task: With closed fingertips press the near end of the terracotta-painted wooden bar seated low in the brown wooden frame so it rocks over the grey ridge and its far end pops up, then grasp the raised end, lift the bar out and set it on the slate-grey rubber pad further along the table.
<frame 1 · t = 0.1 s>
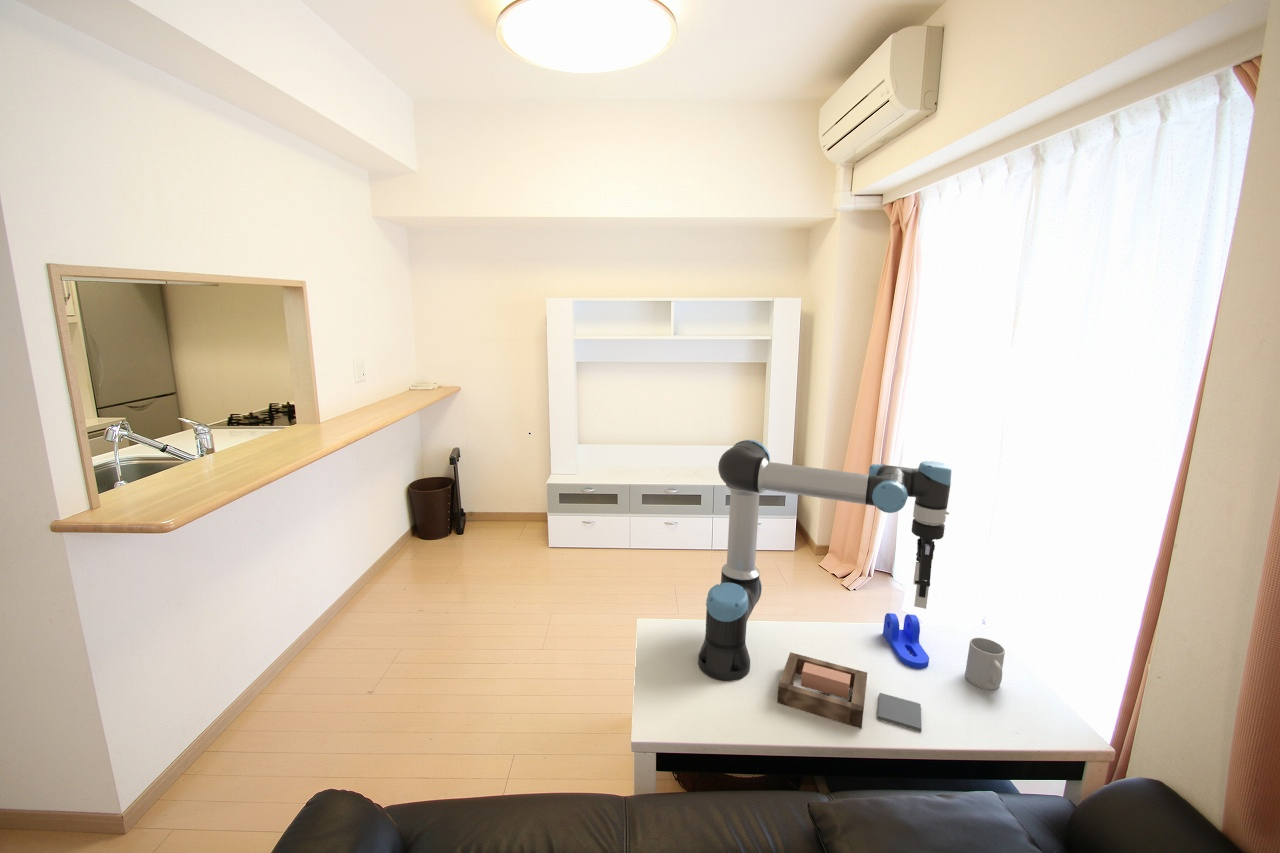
hand: (919, 595, 148), 28 cm above the table, fingers open, 13 cm apart
mug: (985, 685, 155), on the table
bracket: (906, 651, 171), on the table
brown wooden frame: (824, 696, 149), on the table
rubber pad: (899, 713, 143), on the table
terracotta block: (825, 687, 148), point 3 cm above the table, touching brown wooden frame
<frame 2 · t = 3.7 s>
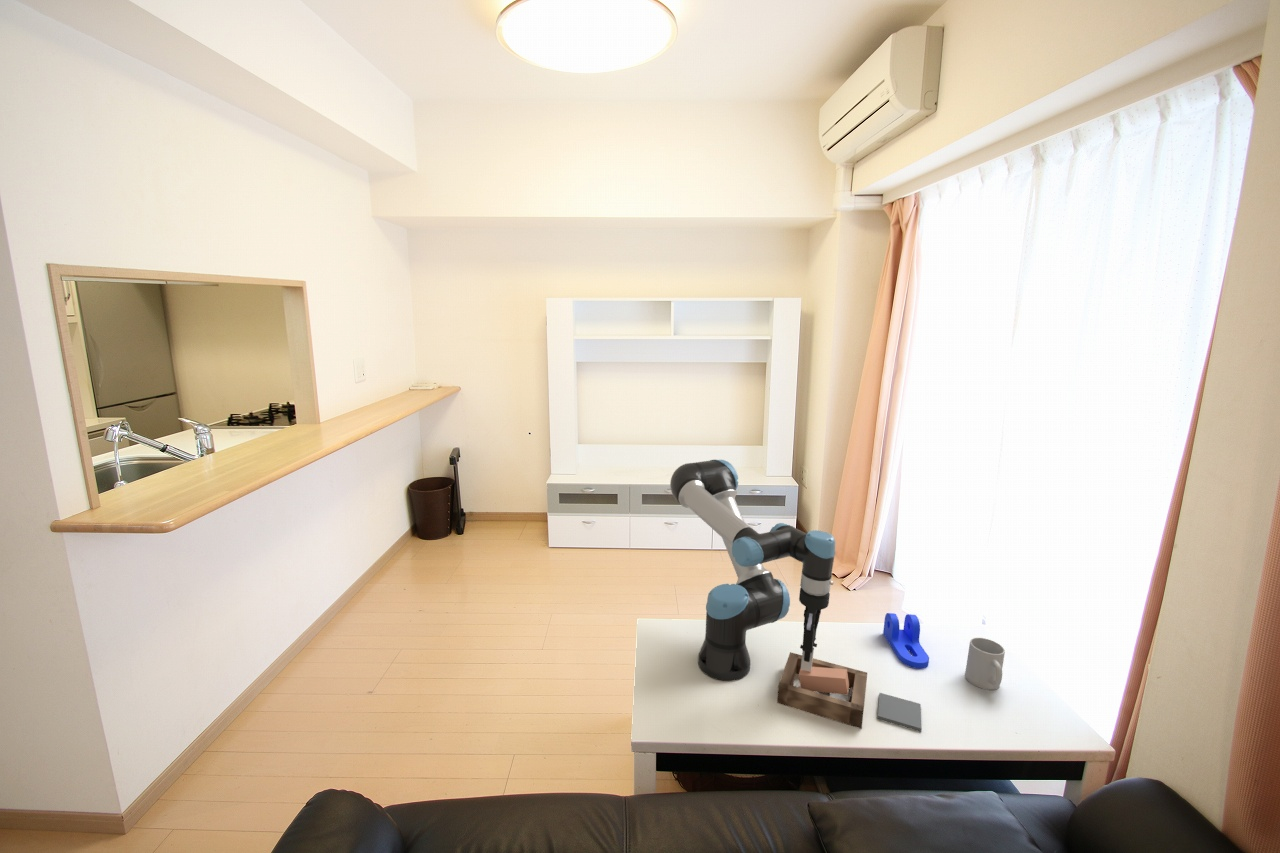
hand: (806, 669, 150), 7 cm above the table, fingers closed
terracotta block: (825, 687, 148), point 3 cm above the table, tilted 12°, touching gripper, brown wooden frame
everything else where it was.
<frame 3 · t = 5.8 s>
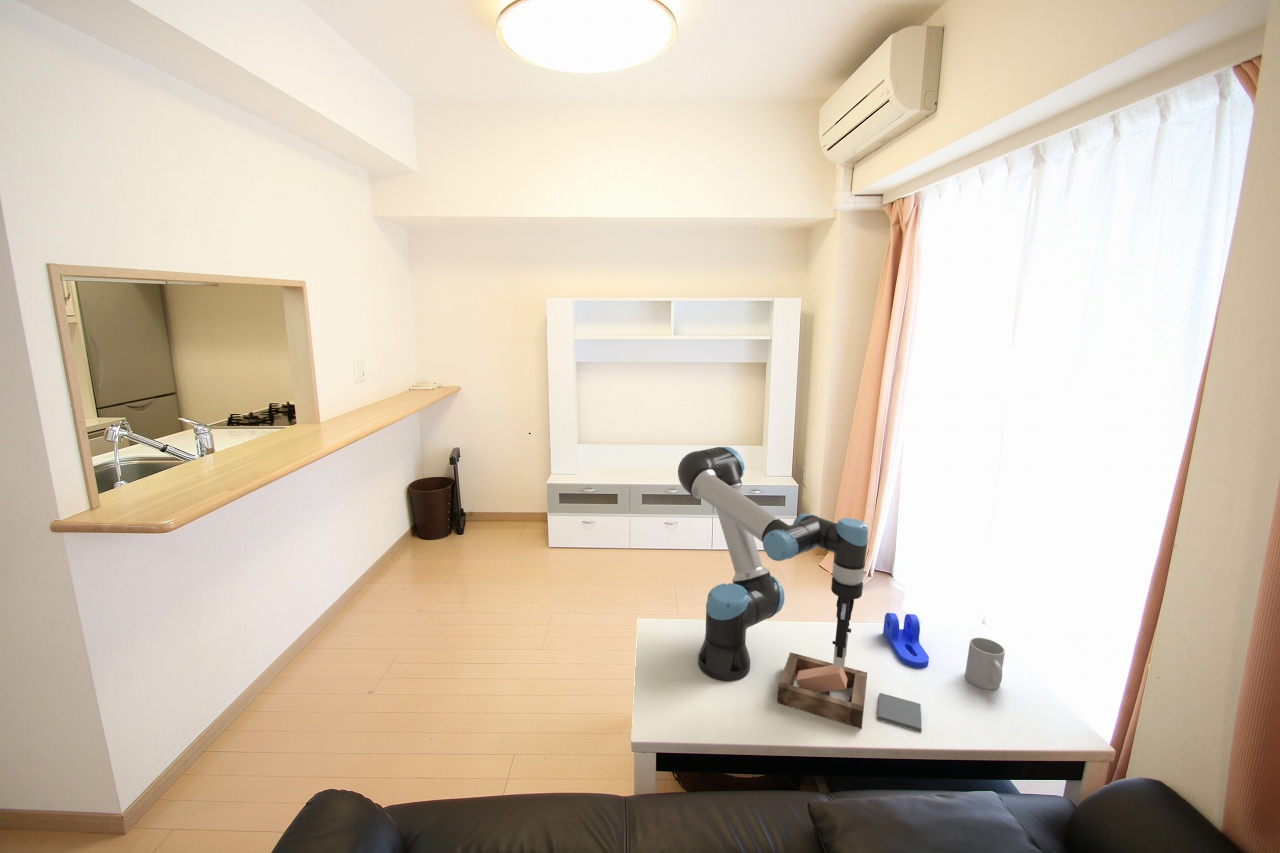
hand: (839, 660, 145), 12 cm above the table, fingers open, 5 cm apart
terracotta block: (825, 687, 148), point 3 cm above the table, tilted 27°, touching brown wooden frame
everything else where it was.
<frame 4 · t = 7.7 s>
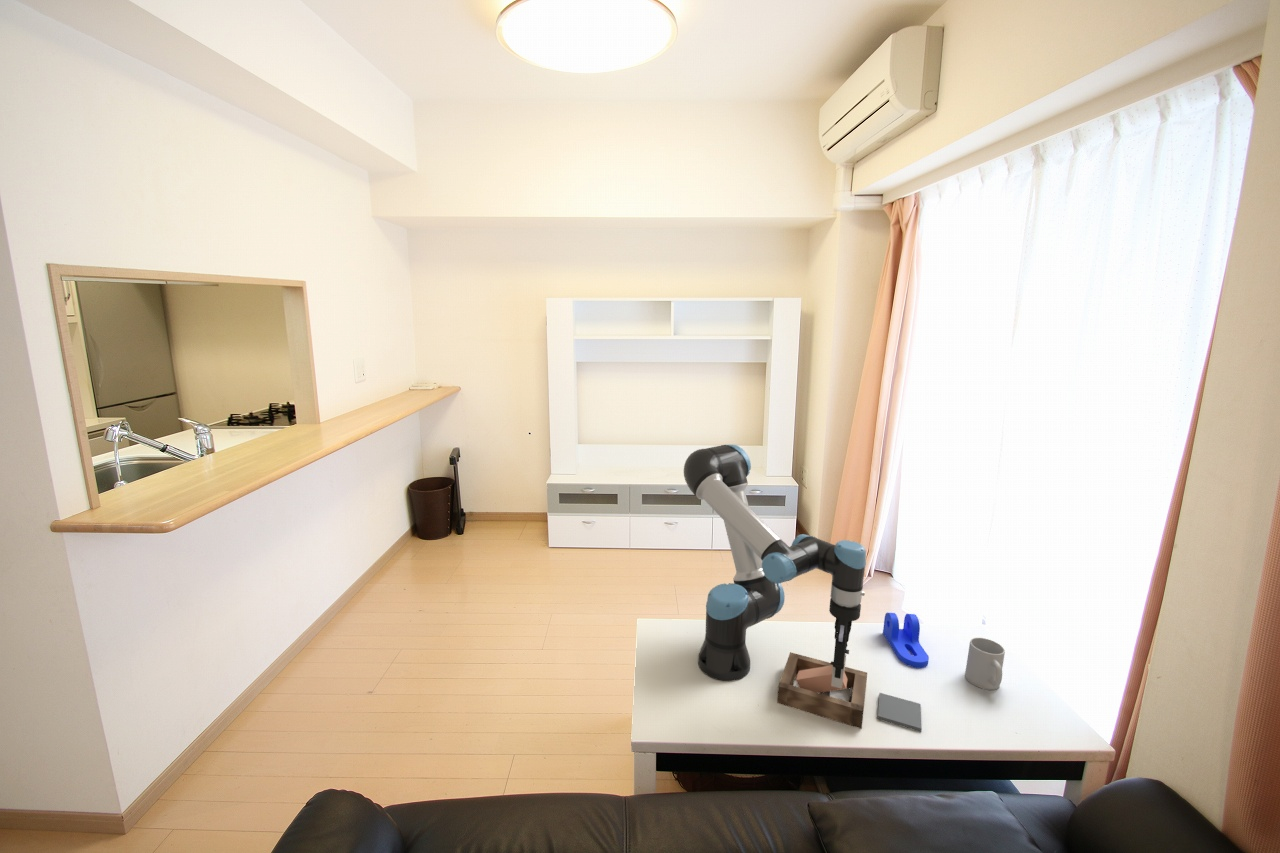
hand: (837, 680, 147), 6 cm above the table, fingers closed on terracotta block, 4 cm apart
terracotta block: (825, 687, 148), point 3 cm above the table, tilted 27°, touching gripper, brown wooden frame
everything else where it was.
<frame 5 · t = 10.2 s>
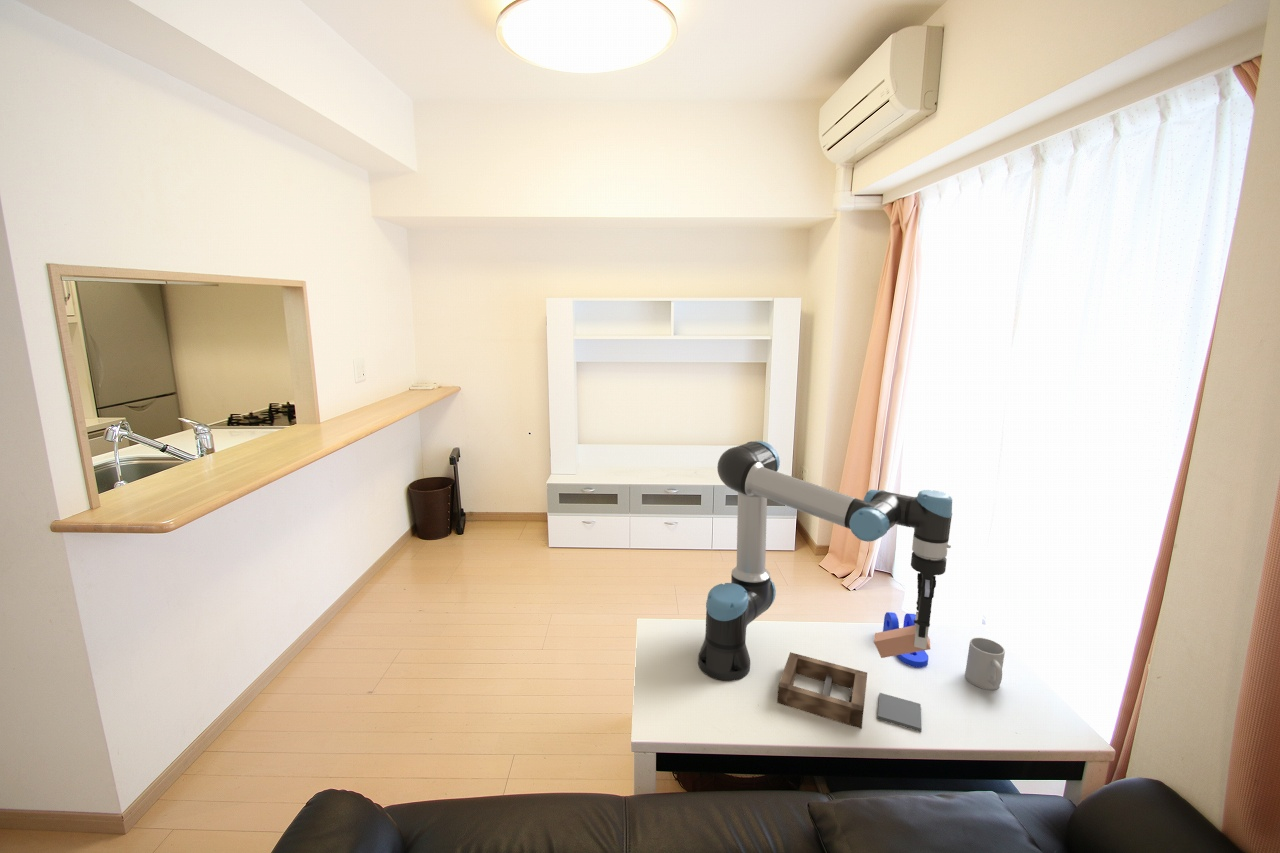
hand: (919, 641, 137), 22 cm above the table, fingers closed on terracotta block, 4 cm apart
terracotta block: (905, 649, 139), point 19 cm above the table, tilted 28°, touching gripper
everything else where it was.
when the fingers open (8 cm above the table, at t = 12.6 s): terracotta block drops 4 cm, resting on rubber pad.
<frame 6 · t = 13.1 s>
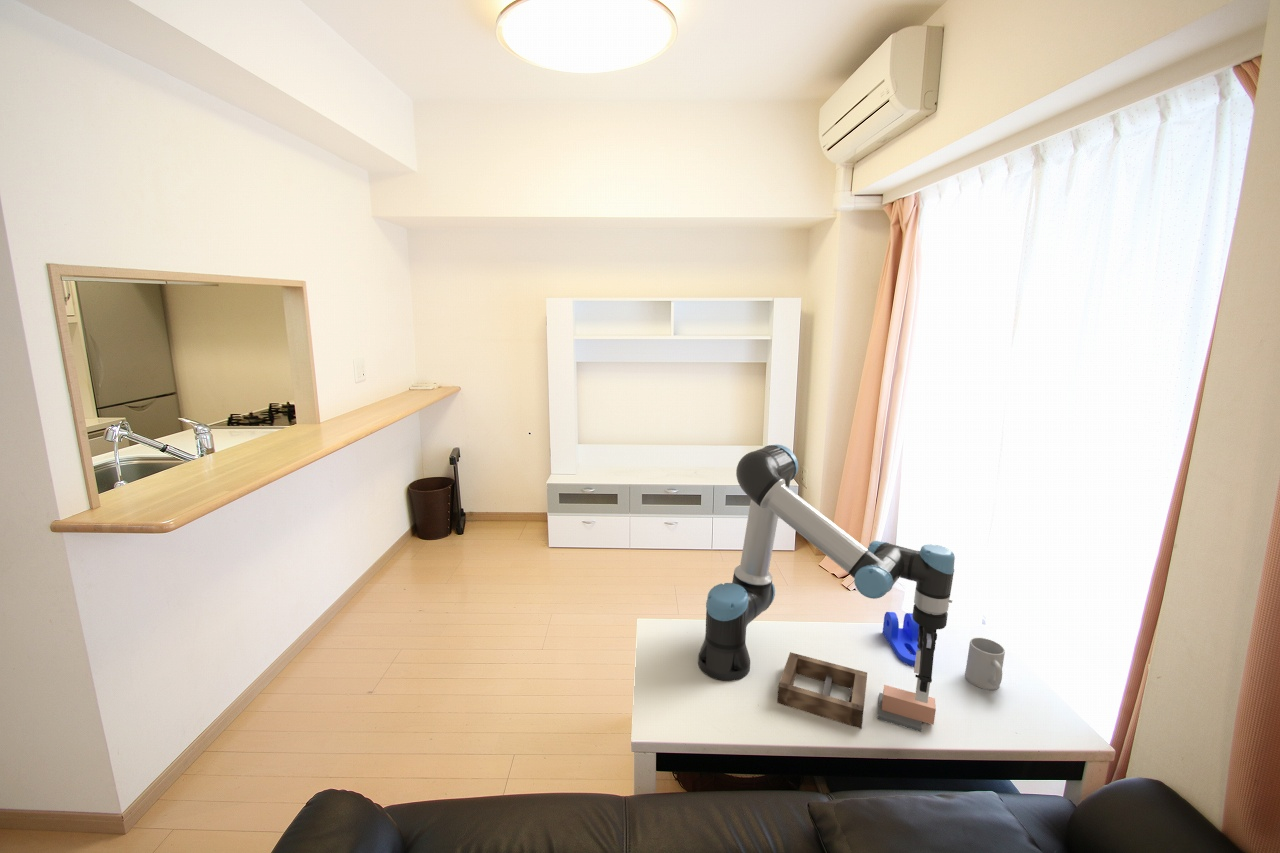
hand: (920, 686, 140), 9 cm above the table, fingers open, 11 cm apart
terracotta block: (907, 711, 142), point 1 cm above the table, touching rubber pad
everything else where it was.
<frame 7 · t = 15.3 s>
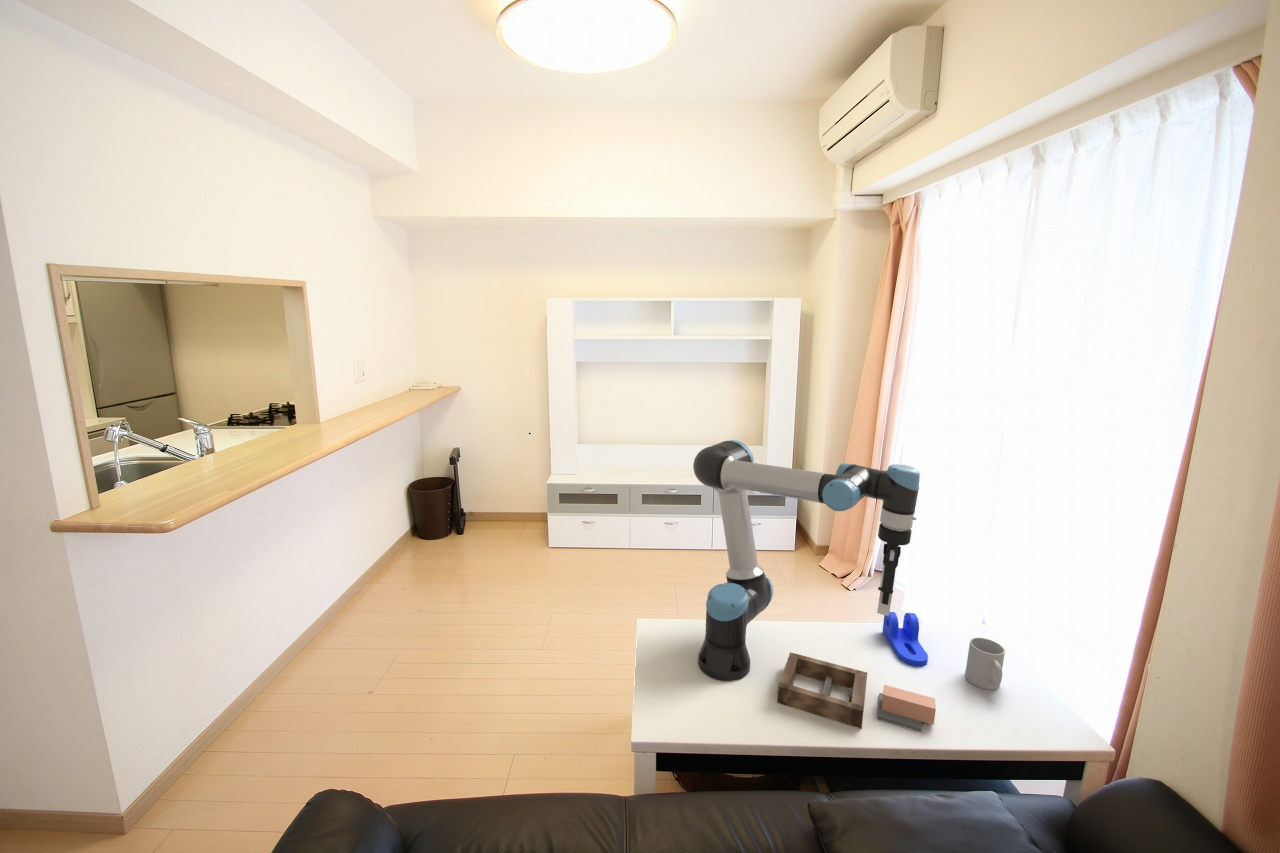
hand: (884, 601, 144), 28 cm above the table, fingers open, 13 cm apart
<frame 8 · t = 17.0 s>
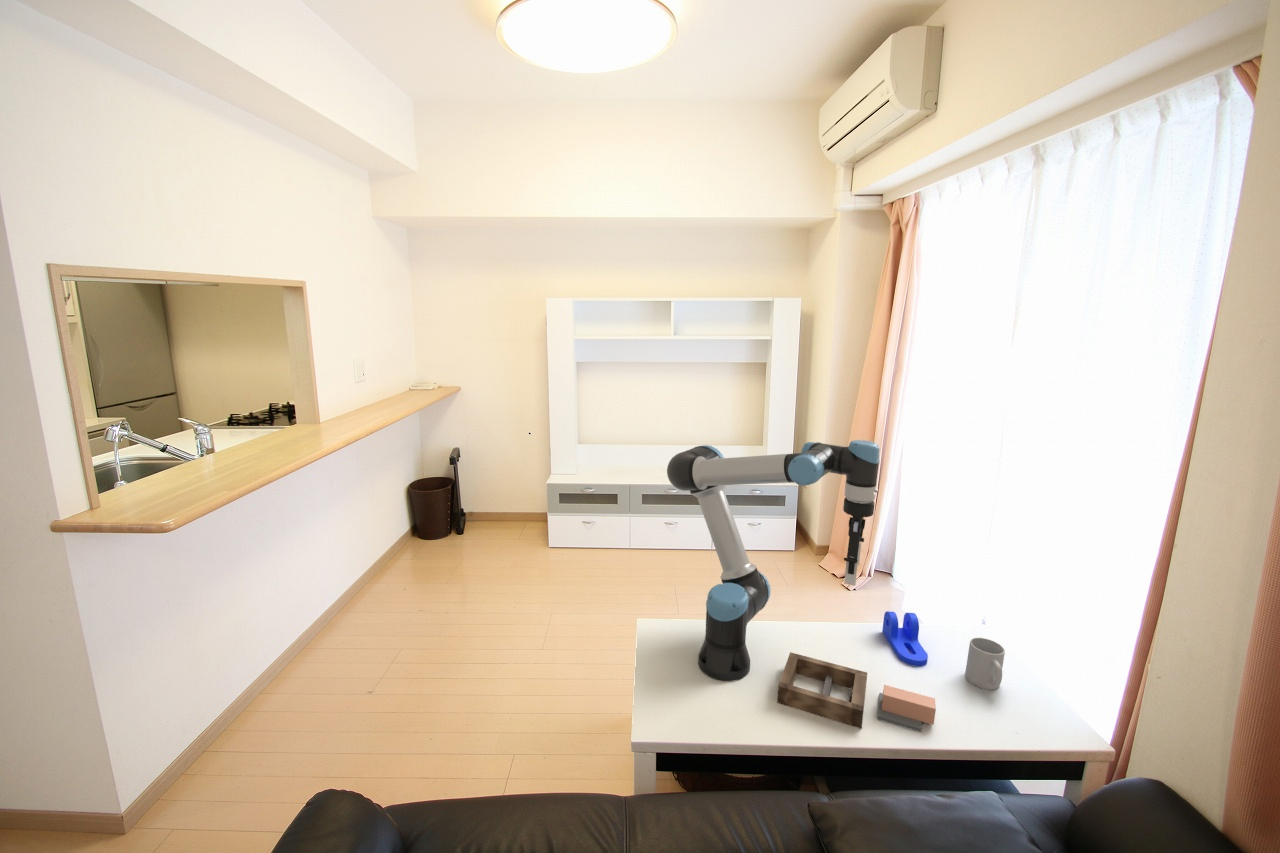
hand: (851, 573, 149), 33 cm above the table, fingers open, 13 cm apart
at the end: terracotta block inside the target area on the rubber pad (1.8 cm from its centre), point 1.0 cm above the rubber pad's base; terracotta block touching rubber pad; the gripper is holding nothing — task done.
